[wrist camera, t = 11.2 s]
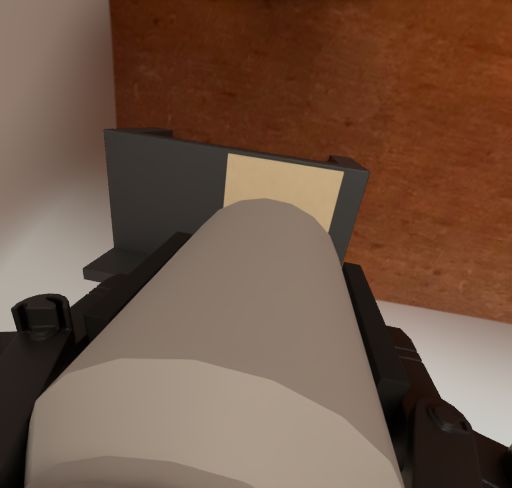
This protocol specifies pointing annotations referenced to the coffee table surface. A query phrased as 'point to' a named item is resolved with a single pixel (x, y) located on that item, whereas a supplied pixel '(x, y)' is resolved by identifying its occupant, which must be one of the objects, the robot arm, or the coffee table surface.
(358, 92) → the coffee table surface
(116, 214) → the shelf
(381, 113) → the coffee table surface
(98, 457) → the can
